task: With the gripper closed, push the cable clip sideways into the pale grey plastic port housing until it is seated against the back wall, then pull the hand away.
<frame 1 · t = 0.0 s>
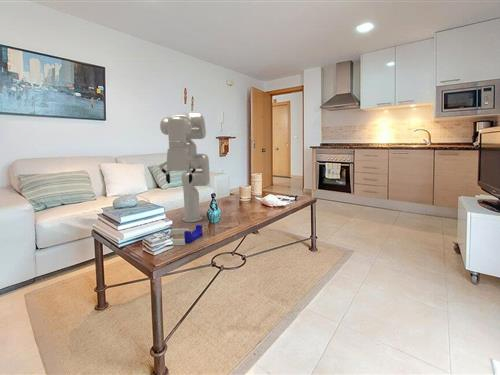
hand: (179, 183, 123), 31 cm above the table, tool pointing down, fingers open, 9 cm apart
port housing: (178, 239, 138), on the table
cable clip: (192, 239, 138), on the table
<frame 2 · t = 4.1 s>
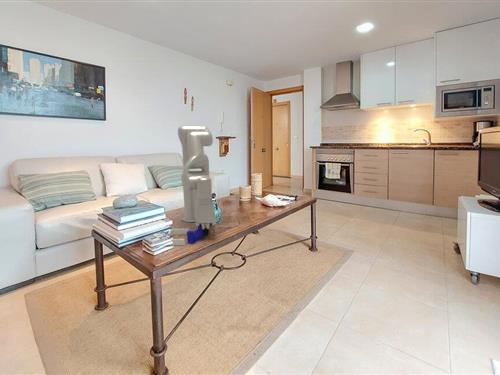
hand: (206, 235, 139), 2 cm above the table, tool pointing down, fingers closed
cable clip: (195, 239, 138), on the table, touching gripper
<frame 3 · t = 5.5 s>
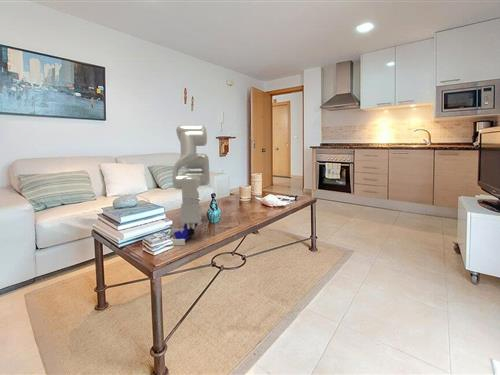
hand: (191, 235, 137), 2 cm above the table, tool pointing down, fingers closed
cable clip: (185, 238, 137), point 1 cm above the table, touching gripper
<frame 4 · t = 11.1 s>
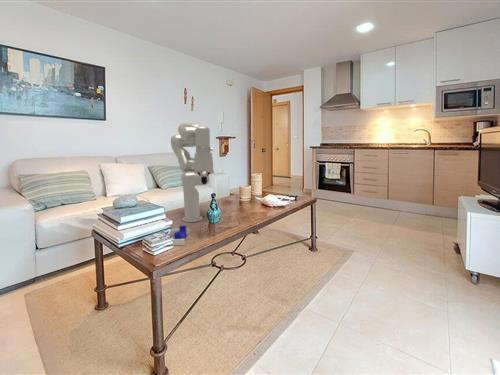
hand: (204, 184, 145), 27 cm above the table, tool pointing down, fingers closed
cable clip: (179, 240, 137), on the table
at the end: cable clip inside the target area on the port housing (2.1 cm from its centre), point 0.0 cm above the port housing's base; cable clip tilted 0°; cable clip moved 6.5 cm from its start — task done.
